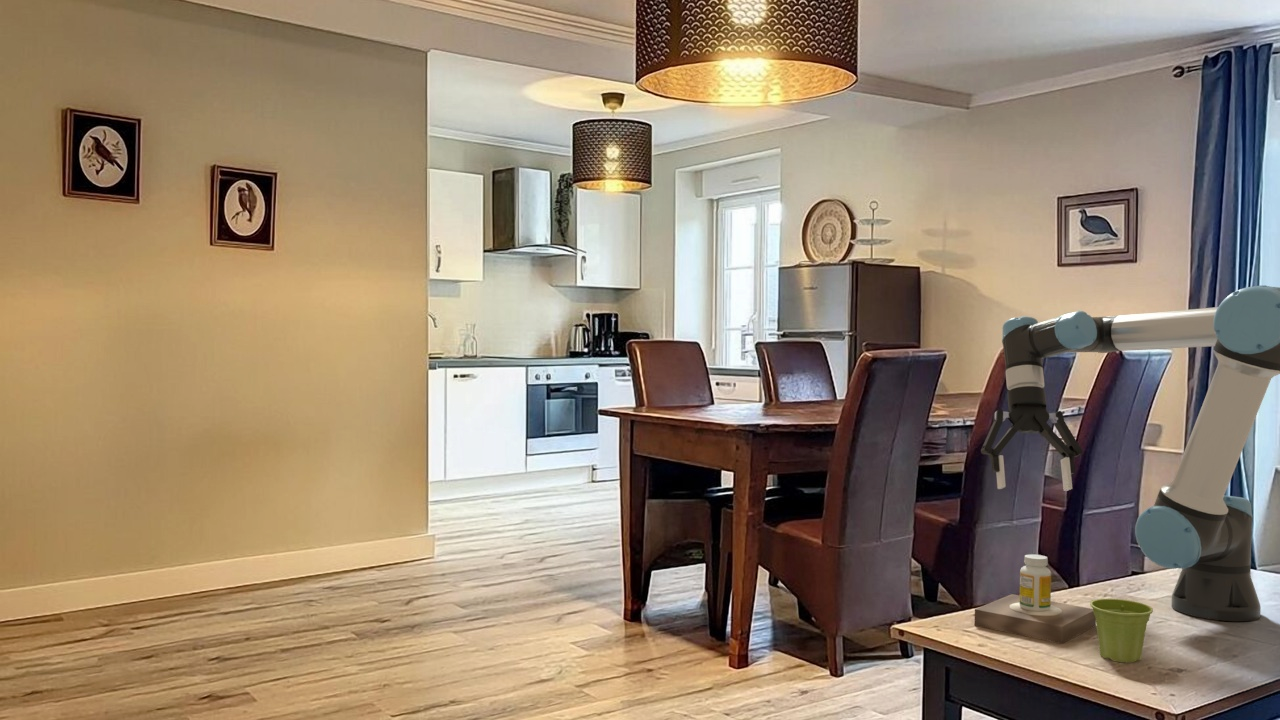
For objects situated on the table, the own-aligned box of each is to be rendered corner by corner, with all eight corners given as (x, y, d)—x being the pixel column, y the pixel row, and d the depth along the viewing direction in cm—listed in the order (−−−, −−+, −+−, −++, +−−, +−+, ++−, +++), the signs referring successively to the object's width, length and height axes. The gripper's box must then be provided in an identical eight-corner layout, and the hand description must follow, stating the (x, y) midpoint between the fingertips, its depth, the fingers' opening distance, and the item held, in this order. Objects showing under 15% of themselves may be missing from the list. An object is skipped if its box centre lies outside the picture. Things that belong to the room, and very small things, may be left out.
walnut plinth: (1095, 625, 189) (1096, 608, 189) (1062, 643, 178) (1062, 625, 178) (1011, 609, 200) (1011, 593, 200) (974, 625, 189) (974, 608, 189)
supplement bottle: (1020, 610, 187) (1021, 558, 187) (1018, 603, 192) (1019, 552, 192) (1052, 613, 186) (1052, 560, 186) (1049, 605, 191) (1049, 554, 191)
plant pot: (1159, 668, 164) (1160, 614, 164) (1096, 664, 166) (1097, 611, 166) (1143, 651, 174) (1143, 600, 174) (1083, 647, 176) (1084, 597, 175)
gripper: (1077, 396, 220) (1088, 493, 214) (961, 392, 220) (968, 490, 214) (1092, 386, 213) (1103, 487, 207) (972, 382, 213) (979, 483, 207)
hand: (1034, 489), depth 210 cm, fingers open, 13 cm apart
